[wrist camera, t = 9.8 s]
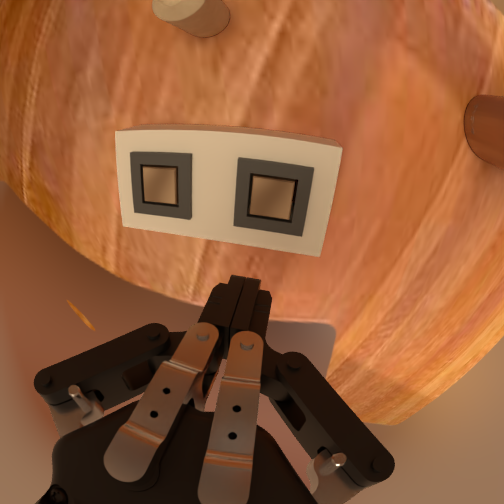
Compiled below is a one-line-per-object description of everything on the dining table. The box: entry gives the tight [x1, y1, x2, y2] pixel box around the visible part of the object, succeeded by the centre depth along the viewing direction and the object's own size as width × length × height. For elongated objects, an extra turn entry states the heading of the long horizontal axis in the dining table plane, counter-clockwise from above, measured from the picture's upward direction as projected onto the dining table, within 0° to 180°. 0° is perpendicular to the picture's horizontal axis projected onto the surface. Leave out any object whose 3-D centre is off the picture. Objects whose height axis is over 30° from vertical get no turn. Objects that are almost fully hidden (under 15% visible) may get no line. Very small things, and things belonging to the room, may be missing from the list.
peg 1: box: [143, 165, 179, 204], centre depth 30 cm, size 4×4×7 cm
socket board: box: [115, 124, 343, 257], centre depth 30 cm, size 24×12×7 cm, turn 85°
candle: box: [152, 0, 230, 37], centre depth 18 cm, size 6×6×10 cm
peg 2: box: [250, 174, 295, 220], centre depth 29 cm, size 4×4×7 cm
